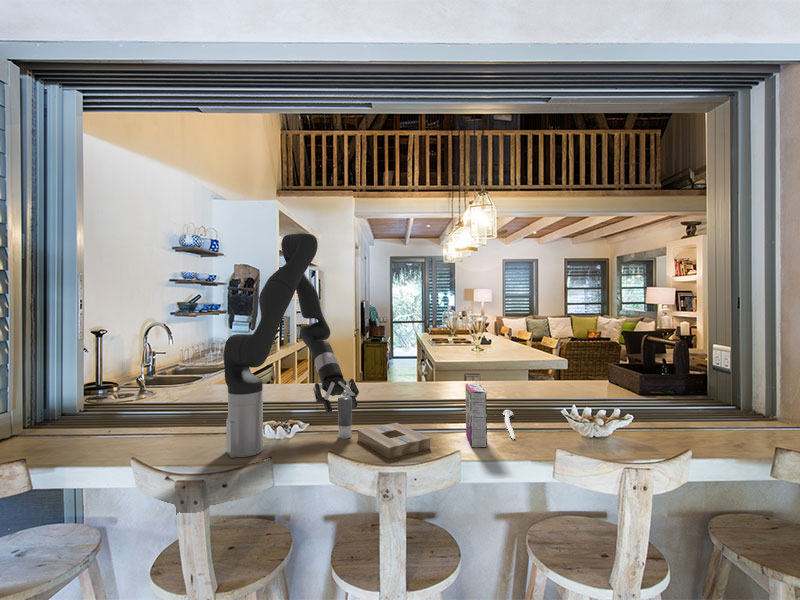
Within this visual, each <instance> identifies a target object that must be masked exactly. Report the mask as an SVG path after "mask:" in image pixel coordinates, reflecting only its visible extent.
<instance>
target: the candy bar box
mask: <svg viewBox="0 0 800 600" xmlns="http://www.w3.org/2000/svg"><path fill="white" fill-rule="evenodd" d="M464 385H465V387H464V390H465V391H464V392H465V435H466V438H467V440H468V442H469V445H470V448H472V447H487V448H488V419H487V418H488V413H487V412H488V411H487V410H488V409H487V408H488V407H487V391H486V390H485V389H484V387H483V386H482V385H481V383H465V384H464Z"/></svg>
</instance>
